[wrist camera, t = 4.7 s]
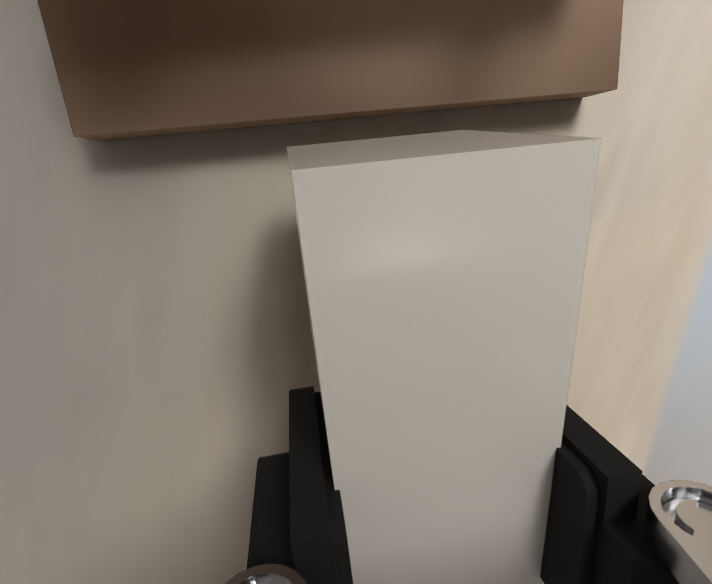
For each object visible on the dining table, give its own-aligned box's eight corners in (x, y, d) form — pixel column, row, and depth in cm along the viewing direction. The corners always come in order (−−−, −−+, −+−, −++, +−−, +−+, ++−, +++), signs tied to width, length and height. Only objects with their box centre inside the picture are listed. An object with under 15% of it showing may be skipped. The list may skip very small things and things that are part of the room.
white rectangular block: (286, 147, 8) (291, 170, 4) (463, 129, 9) (602, 137, 5) (344, 572, 13) (370, 754, 9) (457, 547, 13) (526, 712, 9)
